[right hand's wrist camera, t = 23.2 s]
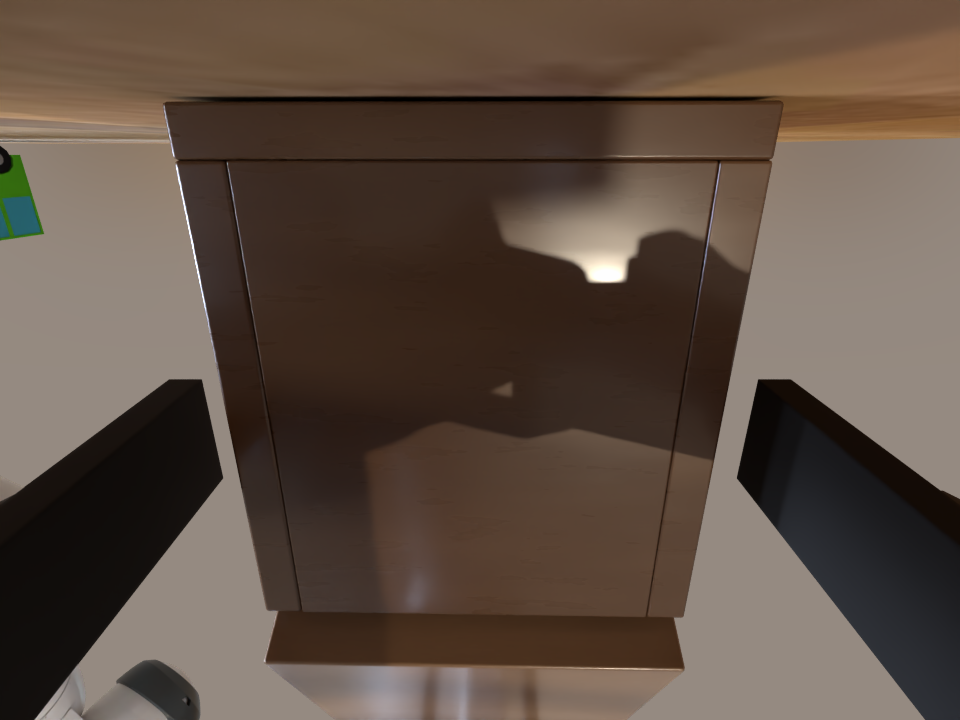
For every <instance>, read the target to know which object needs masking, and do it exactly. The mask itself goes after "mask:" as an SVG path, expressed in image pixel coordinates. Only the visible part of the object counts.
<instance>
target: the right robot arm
mask: <svg viewBox="0 0 960 720" xmlns="http://www.w3.org/2000/svg"><path fill="white" fill-rule="evenodd" d="M222 479H223V475H222V470H221V466H220V461H219V457H218V452H217V447H216V443H215V438H214V434H213V429H212V425H211V420H210V415H209V411H208V406H207V402H206V397H205V392H204V388H203V383H202V380H201V379H187V380H186V379H174V380H173V379H171V380H168V381H167V382H165V383H164V384H162V385H161V386H160V387H158V388H157V389H156V390H155V391H153V392H152V393H150V394H149V395H148V396H146V397H145V398H144V399H142V400H141V401H140V402H138V403H137V404H136V405H134V406H133V407H132V408H130V409H129V410H127V411H126V412H125V413H124V414H122V415H121V416H119V417H118V418H117V419H115V420H114V421H113V422H111V423H110V424H109V425H107V426H106V427H105V428H103V429H102V430H101V431H99V432H98V433H97V434H95V435H94V436H93V437H91V438H90V439H88V440H87V441H86V442H84V443H83V444H82V445H80V446H79V447H78V448H76V449H75V450H74V451H72V452H71V453H70V454H68V455H67V456H66V457H64V458H63V459H62V460H60V461H59V462H57V463H56V464H55V465H53V466H52V467H51V468H49V469H48V470H47V471H45V472H44V473H43V474H41V475H40V476H39V477H37V478H36V479H35V480H33V481H32V482H31V483H29V484H28V485H26V486H25V487H24V488H22V489H21V490H20V491H18V492H17V493H16V494H14V495H12V496H10V497H8V498H6V499H4V500H2V501H0V720H35V719H36V718H37V716H38V715H39V714H40V712H41V711H42V710H43V709H44V707H45V706H46V705H47V703H48V702H49V701H50V700H51V698H52V697H53V696H54V694H55V693H56V692H57V691H58V689H59V688H60V687H61V685H62V684H63V683H64V682H65V680H66V679H67V678H68V677H69V675H70V674H71V673H72V671H73V670H74V669H75V668H76V666H77V665H78V664H79V662H80V661H81V660H82V659H83V657H84V656H85V655H86V653H87V652H88V651H89V650H90V648H91V647H92V646H93V644H94V643H95V642H96V641H97V639H98V638H99V637H100V635H101V634H102V633H103V632H104V630H105V629H106V628H107V626H108V625H109V624H110V623H111V621H112V620H113V619H114V617H115V616H116V615H117V614H118V612H119V611H120V610H121V608H122V607H123V606H124V605H125V603H126V602H127V601H128V600H129V598H130V597H131V596H132V594H133V593H134V592H135V591H136V589H137V588H138V587H139V585H140V584H141V583H142V582H143V580H144V579H145V578H146V576H147V575H148V574H149V573H150V571H151V570H152V569H153V567H154V566H155V565H156V564H157V562H158V561H159V560H160V558H161V557H162V556H163V555H164V553H165V552H166V551H167V550H168V548H169V547H170V546H171V544H172V543H173V542H174V541H175V539H176V538H177V537H178V535H179V534H180V533H181V532H182V530H183V529H184V528H185V526H186V525H187V524H188V523H189V521H190V520H191V519H192V517H193V516H194V515H195V514H196V512H197V511H198V510H199V508H200V507H201V506H202V505H203V503H204V502H205V501H206V500H207V498H208V497H209V496H210V494H211V493H212V492H213V491H214V489H215V488H216V487H217V485H218V484H219V483H220V482H221V480H222ZM737 479H738V480H739V482H740V483H741V484H742V485H743V487H744V488H745V489H746V491H747V492H748V493H749V494H750V496H751V497H752V498H753V500H754V501H755V502H756V503H757V505H758V506H759V507H760V508H761V510H762V511H763V512H764V514H765V515H766V516H767V517H768V519H769V520H770V521H771V523H772V524H773V525H774V526H775V528H776V529H777V530H778V532H779V533H780V534H781V535H782V537H783V538H784V539H785V541H786V542H787V543H788V544H789V546H790V547H791V548H792V550H793V551H794V552H795V553H796V555H797V556H798V557H799V558H800V560H801V561H802V562H803V564H804V565H805V566H806V567H807V569H808V570H809V571H810V573H811V574H812V575H813V576H814V578H815V579H816V580H817V582H818V583H819V584H820V585H821V587H822V588H823V589H824V591H825V592H826V593H827V594H828V596H829V597H830V598H831V600H832V601H833V602H834V603H835V605H836V606H837V607H838V609H839V610H840V611H841V612H842V614H843V615H844V616H845V618H846V619H847V620H848V621H849V623H850V624H851V625H852V626H853V628H854V629H855V630H856V632H857V633H858V634H859V635H860V637H861V638H862V639H863V641H864V642H865V643H866V644H867V646H868V647H869V648H870V650H871V651H872V652H873V653H874V655H875V656H876V657H877V659H878V660H879V661H880V662H881V664H882V665H883V666H884V667H885V669H886V670H887V671H888V673H889V674H890V675H891V676H892V678H893V679H894V680H895V682H896V683H897V684H898V685H899V687H900V688H901V689H902V691H903V692H904V693H905V694H906V696H907V697H908V698H909V700H910V701H911V702H912V703H913V705H914V706H915V707H916V709H917V710H918V711H919V712H920V714H921V715H922V716H923V717H924V719H925V720H960V499H959V498H957V497H955V496H953V495H951V494H949V493H946V492H945V491H940V490H939V489H938V488H936V487H935V486H933V485H932V484H931V483H929V482H928V481H927V480H925V479H924V478H923V477H921V476H920V475H919V474H917V473H916V472H915V471H913V470H912V469H911V468H909V467H908V466H906V465H905V464H904V463H903V462H901V461H900V460H898V459H897V458H896V457H894V456H893V455H892V454H890V453H889V452H888V451H886V450H885V449H884V448H882V447H881V446H880V445H878V444H877V443H876V442H874V441H873V440H872V439H870V438H869V437H868V436H866V435H865V434H863V433H862V432H861V431H859V430H858V429H857V428H855V427H854V426H853V425H851V424H850V423H849V422H847V421H846V420H845V419H843V418H842V417H841V416H839V415H838V414H836V413H835V412H834V411H832V410H831V409H830V408H828V407H827V406H826V405H824V404H823V403H822V402H820V401H819V400H818V399H816V398H815V397H814V396H812V395H811V394H810V393H808V392H807V391H806V390H804V389H803V388H801V387H800V386H799V385H798V384H796V383H795V382H793V381H792V380H790V379H780V380H779V379H768V380H767V379H759V380H758V383H757V388H756V392H755V397H754V401H753V406H752V410H751V415H750V420H749V424H748V429H747V434H746V438H745V443H744V447H743V452H742V456H741V461H740V466H739V470H738V475H737Z"/></svg>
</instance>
